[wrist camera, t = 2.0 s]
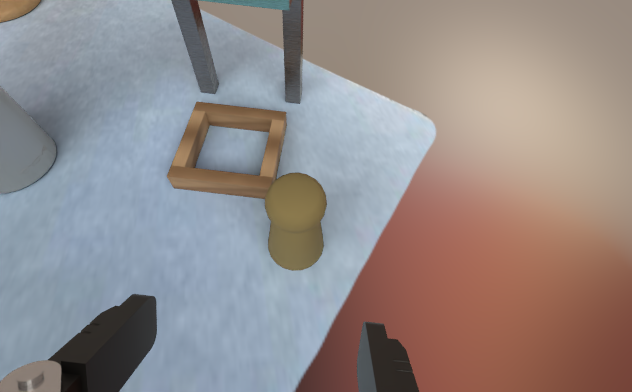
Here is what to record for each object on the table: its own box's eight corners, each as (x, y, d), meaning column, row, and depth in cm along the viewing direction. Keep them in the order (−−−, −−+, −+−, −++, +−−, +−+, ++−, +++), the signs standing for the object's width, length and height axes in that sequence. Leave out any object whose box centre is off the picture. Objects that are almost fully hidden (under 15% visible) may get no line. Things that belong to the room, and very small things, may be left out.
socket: (271, 199, 39) (270, 188, 36) (174, 188, 39) (166, 176, 37) (286, 125, 44) (286, 112, 42) (201, 115, 44) (196, 101, 42)
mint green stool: (291, 148, 42) (288, -9, 26) (183, 136, 43) (110, -29, 26) (301, 93, 48) (304, -69, 31) (204, 82, 48) (154, -85, 31)
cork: (272, 215, 38) (264, 157, 28) (325, 221, 38) (335, 165, 28) (263, 267, 35) (251, 222, 25) (321, 273, 35) (331, 230, 25)
